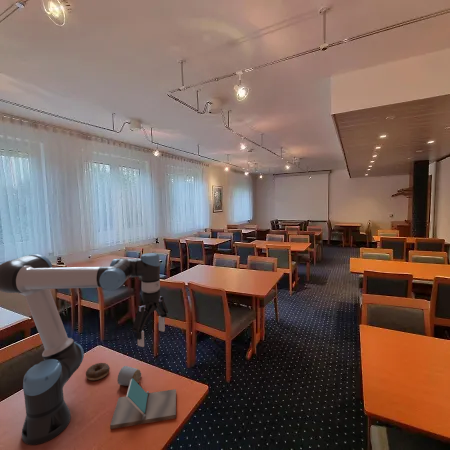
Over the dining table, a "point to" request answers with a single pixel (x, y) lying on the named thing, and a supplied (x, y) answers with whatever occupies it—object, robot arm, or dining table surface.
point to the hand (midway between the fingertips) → (151, 337)
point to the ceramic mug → (128, 375)
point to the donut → (97, 371)
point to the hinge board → (155, 409)
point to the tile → (137, 396)
